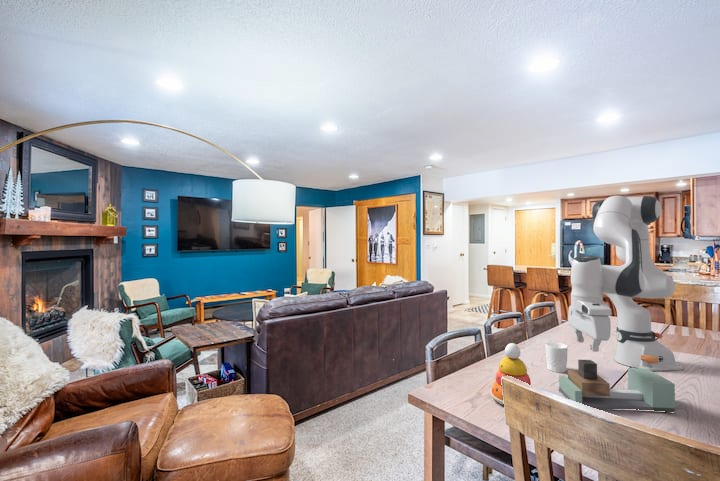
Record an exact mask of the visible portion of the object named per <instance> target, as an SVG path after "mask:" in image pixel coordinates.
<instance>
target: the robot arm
mask: <svg viewBox="0 0 720 481" xmlns="http://www.w3.org/2000/svg"><path fill="white" fill-rule="evenodd" d="M661 213H662V205H661V202H660V200H659V199H658V198H657V197H655V196H652V195H651V196H650V195H644V196H623V195H612V196H609V197H607V198H605V199H602V200H598V201H596V202H595V203H594V204H593V206H592V209H591V216H592V220H593V228H592V230H593V233H594V235H595V236H596V237H597V238H598V239H599V240H600V241H601V242H603V243H605V244H608V245H612V246H615V255H616V257H617V259H618V260H619V261H621V262H623V264H621V265H610V264H609V265H608V264H602V262H601V259H600V257H598V256H597V255H596V256H595V255H591V254H590V255H586V254H585V255H578V256H576V257H574V258H573V259H572V262H571V266H570V267H571V269H570V270H571V271H570V284H571V292H570V305H569V306H568V309H567V310H568V311H567V323H568V326H570V327H572V328H573V331H574V334H575V338H576V341H577V342H578V343H584V342H585V338H584V335H583V334H585V335H586V336H588V337H590V338H591V344H590V350H591V351H592V352H599V351H600V345H601V343H602V341H603V342H604V341H606V342H608V341H609V340H610V338H611V333H612V332H611V329H612V328H611V327H612V325H611V318H610V316H612V308H610V306H608V305H607V303H606V302H605V301H604V296H603V294H604V295H606V297H608V298H609V299H610V301H611V302H612V304H613V305H614V307H615V310H616V311H615V312H616V318H617V327H616V331H615V332H616V340H617V341H616V342H617V343H616V349H615V353H614V356H613V360H614V361H615V362H616V363H619V364H621V365H624V366H628V367H630V368H643V369H649V370H651V371H653V372H654V371H655V372H656V371H659V372H660V371H682V370H684V366H683V365H682V364H681V363H679V362H677V361H676V358H675V354H674V352H673V351H672V350H671V349H670V348H668V347H666V346H665V345H663V343H661V342H660V341H659V340H660V339H663V337H664V336H663V334H662V333H660V332H654V331H653V330H652V316H651V312H650V311H649V310H648V309H647V308H645V307H643V306H642V305H640V304H638V303H636V302H635V301H634V300H633V298H642V299H652V300H653V299H655V300H656V299H668V298H670V297H671V296H672V295H673V294H674V292H675V290H676V283H675V280H674V279H673V277H671V276H670V274H667V273H666V272H664V271H662V270H661V269H660V268H659V267H658V266H657V265H656V264H655V262H654V261H653V257H652V254H651V248H650V232H649V227H648V226H650V225H651V224H652V223H655V222H656V221H657V220H658V219H659V218H660V215H661ZM657 339H659V340H657ZM641 355H651V356H655V357H658V358H659V363H653V368H649V367H647V362H644V361H642V360H641Z"/></svg>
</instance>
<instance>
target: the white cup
mask: <svg viewBox="0 0 720 481" xmlns="http://www.w3.org/2000/svg"><path fill="white" fill-rule="evenodd" d="M544 345H545V359H546V360H545V361H546V367H547V369H548V370H549V371H551V372H553V373H560V374H561V373H566V372H567V365H568V349H569V348H568V347H569V346H568V345H567V344H565V343H561V342H554V341H553V342H552V341H551V342H545V344H544Z"/></svg>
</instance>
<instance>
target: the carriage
mask: <svg viewBox="0 0 720 481" xmlns="http://www.w3.org/2000/svg"><path fill="white" fill-rule="evenodd" d="M577 361H578V362H577V363H578V366H577V367H578V370H569V369H568V370H567V378H568V379H569V380H571V381H572V382H573V383H574V384H575V385H576V386H577V387H578V388H579V389H580V390H581V391H582V395H592V396H610V389H611V387H610V383H609V382H608V381H607V380H605V379H604V378H603V377H601V376H600V375H598V363H596V362H595V361H593V360H592V359H578V360H577Z"/></svg>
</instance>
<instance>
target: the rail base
mask: <svg viewBox="0 0 720 481" xmlns="http://www.w3.org/2000/svg"><path fill="white" fill-rule="evenodd" d="M627 385H628V386H627V387H628V388H627V389H623V388H621V389H620V388H610V396H592V395H582V391H581V390H580V389H579V388H578V387H577V386H576V385H575V384H574V383H573V382H572V381H571V380H569V379H568V376H566V375H563V374H561V375H558V390H559V391H558V392H560V393H561V394H562V395H563V396H564V397H565V399H567V398H568V399H571V400H573V401H576V402H579V403H582V404H584V405H587V406H590V407H593V408H597V409H596V410H604V411H605V410H606V411H607V410H608V409H609V410H611V411H613V410H612V409H636V410H638V409H639V410H654V411H665V412H674V413H673V414H676V394H675V393H676V392H675V391H676V390H675V388H676V385H675V383H673V382H672V381H670V380H668V379H666V377H664V376H661V375H660V374H658V373H656V372H654V371H651V370H649V369H643V368H636V367H628V368H627ZM609 410H608V411H609Z"/></svg>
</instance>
